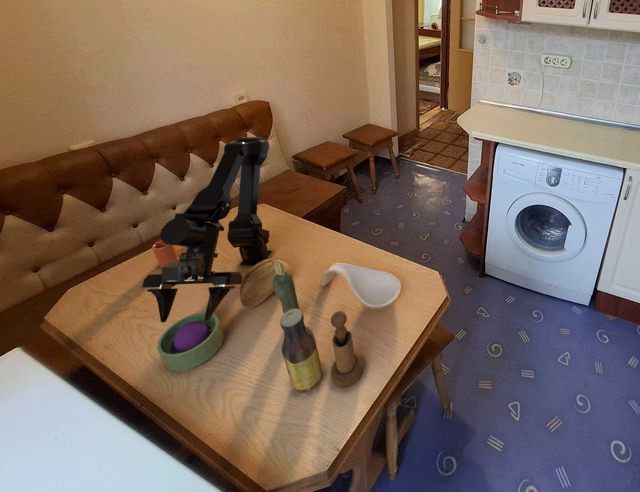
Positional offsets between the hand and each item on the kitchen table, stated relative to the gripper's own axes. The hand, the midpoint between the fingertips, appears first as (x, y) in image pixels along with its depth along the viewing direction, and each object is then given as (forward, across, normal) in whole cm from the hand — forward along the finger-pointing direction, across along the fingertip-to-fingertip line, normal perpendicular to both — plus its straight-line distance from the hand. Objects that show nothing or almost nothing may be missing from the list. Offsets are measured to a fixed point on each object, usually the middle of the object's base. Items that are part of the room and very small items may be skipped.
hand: (185, 321), depth 79 cm
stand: (-14, -25, +27) cm, 40 cm away
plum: (+4, 0, +4) cm, 5 cm away
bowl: (+6, 0, +6) cm, 9 cm away
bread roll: (-6, +9, +18) cm, 21 cm away
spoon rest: (-4, +35, +17) cm, 39 cm away
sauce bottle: (+13, +28, 0) cm, 31 cm away
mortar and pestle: (+12, +36, +1) cm, 38 cm away
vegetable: (+2, +20, +10) cm, 22 cm away
